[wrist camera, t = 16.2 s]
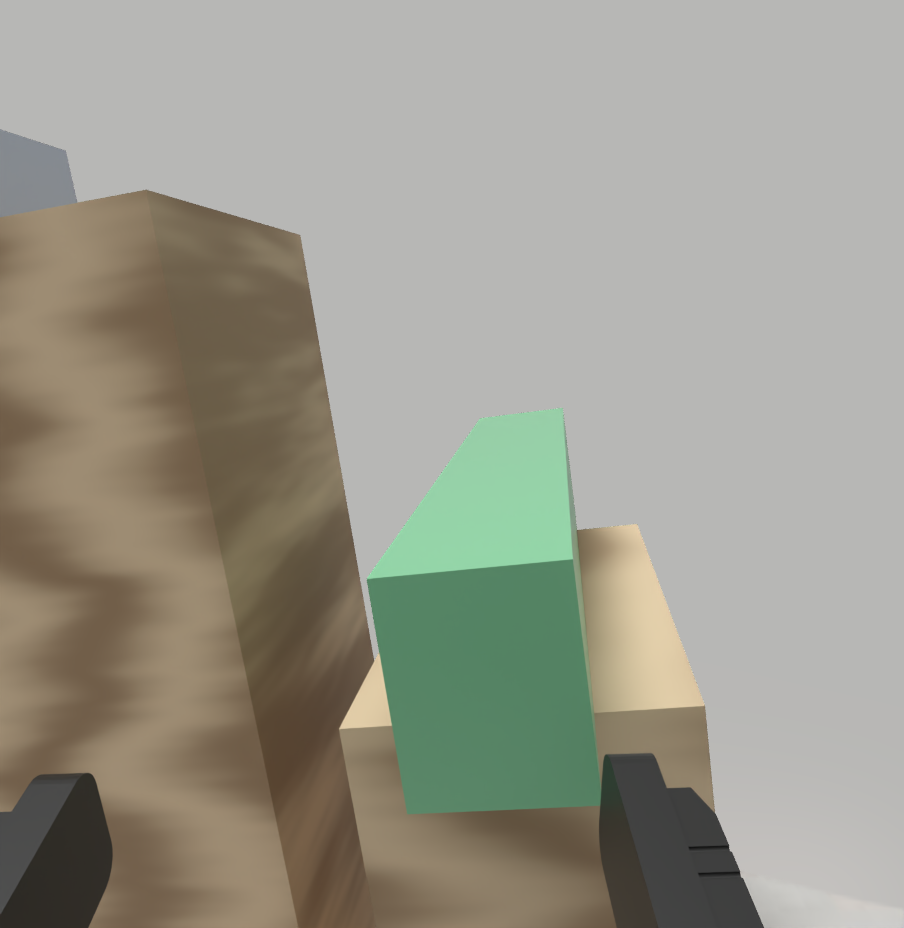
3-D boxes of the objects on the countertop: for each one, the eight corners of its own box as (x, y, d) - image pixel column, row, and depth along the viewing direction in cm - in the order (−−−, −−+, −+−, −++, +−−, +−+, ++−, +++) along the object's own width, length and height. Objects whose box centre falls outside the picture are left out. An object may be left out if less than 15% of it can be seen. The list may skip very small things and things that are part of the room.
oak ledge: (458, 1372, 21) (339, 728, 17) (497, 949, 34) (435, 544, 31) (768, 1395, 19) (704, 705, 16) (681, 947, 33) (637, 524, 30)
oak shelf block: (28, 1186, 27) (-248, 263, 21) (187, 922, 39) (36, 280, 33) (354, 1198, 25) (145, 189, 19) (418, 917, 37) (299, 235, 31)
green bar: (406, 814, 14) (367, 578, 13) (494, 520, 33) (479, 418, 32) (602, 805, 13) (573, 558, 12) (574, 511, 33) (562, 408, 32)
